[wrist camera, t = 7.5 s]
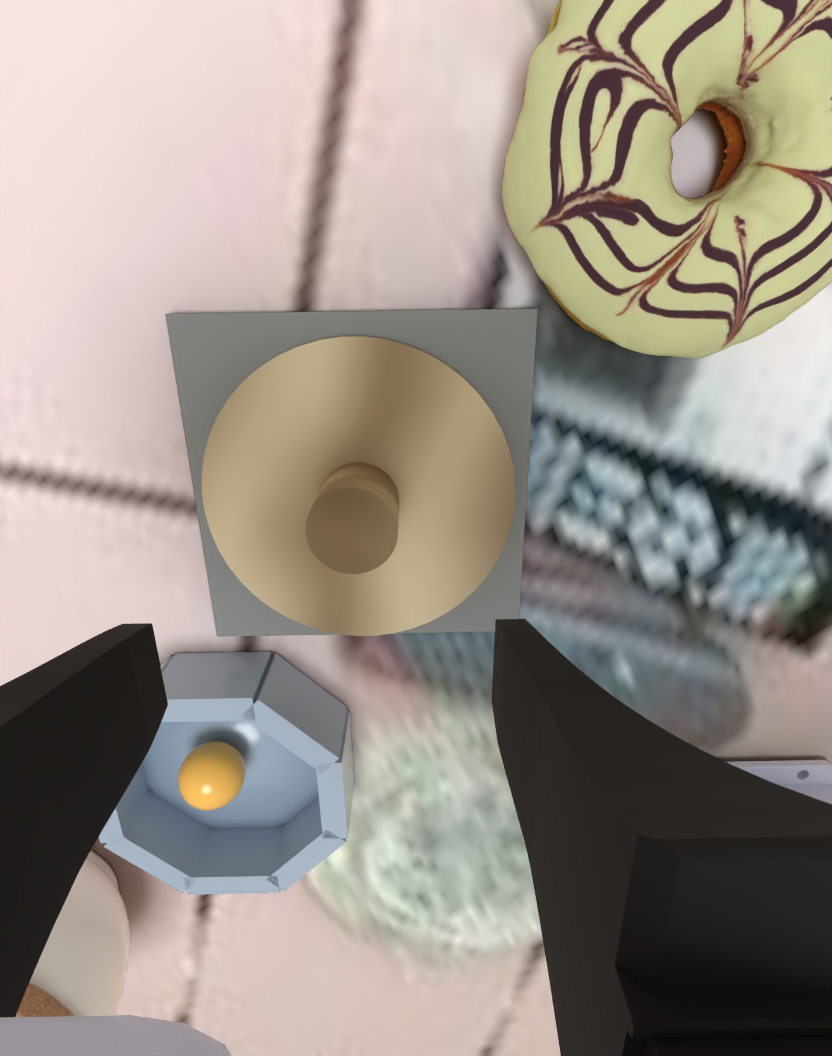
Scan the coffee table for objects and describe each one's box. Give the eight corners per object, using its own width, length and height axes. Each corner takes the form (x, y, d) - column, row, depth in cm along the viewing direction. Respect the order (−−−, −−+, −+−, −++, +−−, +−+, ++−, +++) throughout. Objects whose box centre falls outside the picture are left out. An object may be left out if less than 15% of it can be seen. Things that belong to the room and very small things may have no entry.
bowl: (345, 650, 23) (336, 699, 20) (357, 830, 27) (351, 895, 24) (101, 654, 23) (56, 705, 20) (146, 834, 27) (112, 900, 24)
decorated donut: (439, 252, 18) (445, 236, 15) (632, -148, 15) (700, -292, 11) (699, 402, 20) (760, 421, 16) (924, 74, 17) (1061, 10, 13)
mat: (535, 308, 19) (537, 308, 18) (516, 625, 23) (518, 630, 23) (170, 313, 19) (165, 313, 18) (220, 631, 23) (217, 636, 23)
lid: (530, 345, 19) (557, 352, 15) (495, 633, 23) (511, 689, 19) (194, 326, 18) (146, 330, 15) (218, 622, 22) (185, 677, 19)
